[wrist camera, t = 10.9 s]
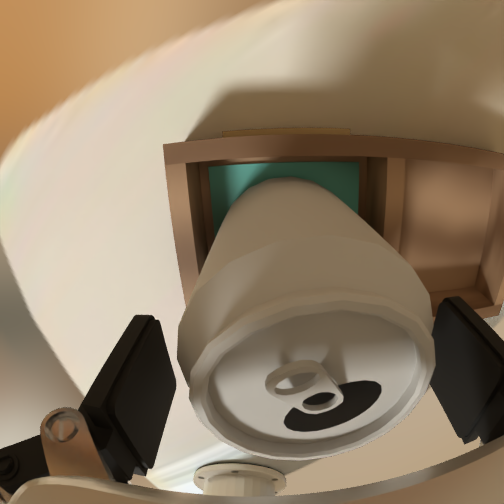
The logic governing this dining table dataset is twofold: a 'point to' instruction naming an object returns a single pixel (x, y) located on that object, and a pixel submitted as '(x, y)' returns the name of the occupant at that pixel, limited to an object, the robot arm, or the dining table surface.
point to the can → (303, 327)
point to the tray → (357, 199)
